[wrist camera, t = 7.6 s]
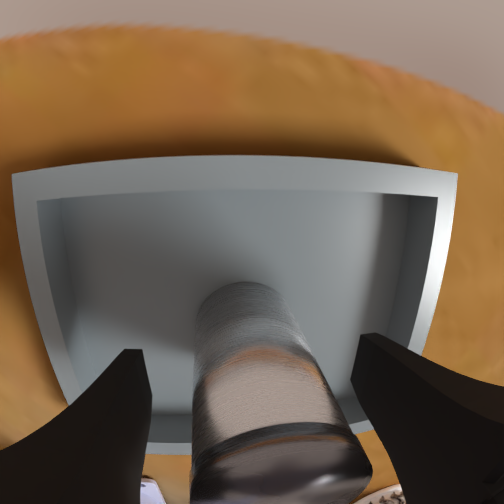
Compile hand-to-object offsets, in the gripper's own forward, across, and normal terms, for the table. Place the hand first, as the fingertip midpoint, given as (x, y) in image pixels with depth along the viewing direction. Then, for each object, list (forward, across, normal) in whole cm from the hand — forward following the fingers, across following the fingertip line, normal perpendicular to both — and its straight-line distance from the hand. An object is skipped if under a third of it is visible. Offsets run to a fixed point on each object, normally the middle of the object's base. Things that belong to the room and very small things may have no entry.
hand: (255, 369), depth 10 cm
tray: (+4, 0, 0) cm, 4 cm away
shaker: (+3, 0, 0) cm, 3 cm away
